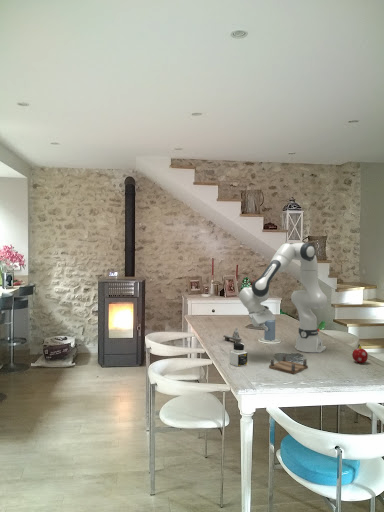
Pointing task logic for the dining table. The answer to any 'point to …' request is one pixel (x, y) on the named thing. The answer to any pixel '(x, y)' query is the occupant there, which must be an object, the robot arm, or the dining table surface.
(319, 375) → the dining table surface
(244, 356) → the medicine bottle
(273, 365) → the peg board
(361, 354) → the christmas ornament
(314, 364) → the dining table surface
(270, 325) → the blue block
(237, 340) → the sculpture
